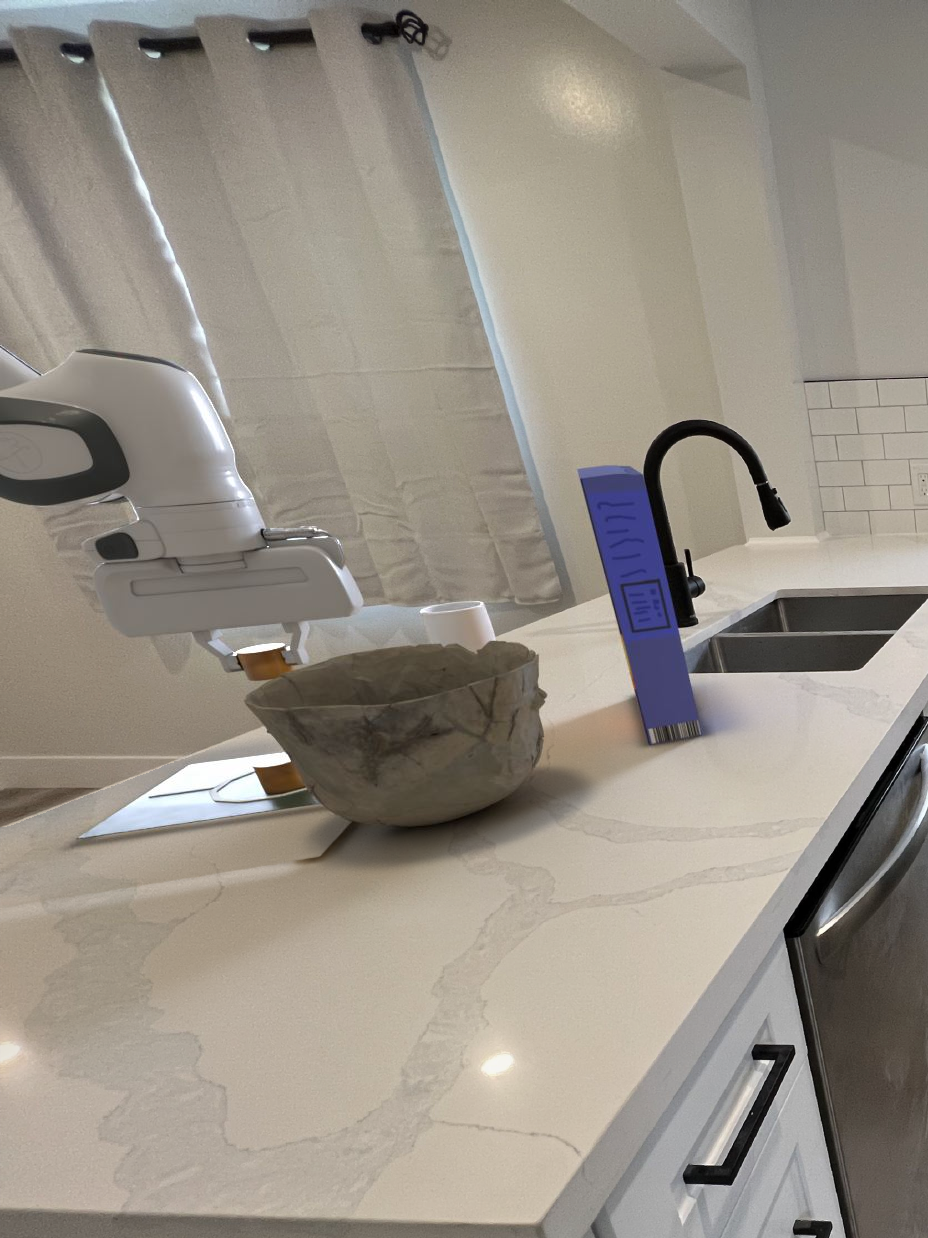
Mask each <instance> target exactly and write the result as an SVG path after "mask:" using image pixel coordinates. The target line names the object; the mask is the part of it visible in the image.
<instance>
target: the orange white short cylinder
mask: <svg viewBox="0 0 928 1238" xmlns="http://www.w3.org/2000/svg"><path fill="white" fill-rule="evenodd" d="M252 766H253V769H254V771H255V773H256V775H257V777H258V779H259V781H260V783H261V785H262V788H263V790H264V792H265V793H270V794H274V793H283V792H288V791H293V790H296V789H299V788H302V787H305V785H304V784H303V782H302V779H301V777H300V775H299V774H298V772H297V771H296V769H295V767H294V766H293V764H292V763H291V761H290V758H289V757H288V755H287V754H280V755H275V756H271V757H267V758H264V759H261V760H259V761H257V762H255V763H254V764H253V765H252Z"/></svg>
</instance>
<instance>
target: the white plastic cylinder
mask: <svg viewBox="0 0 928 1238" xmlns="http://www.w3.org/2000/svg"><path fill="white" fill-rule="evenodd" d="M420 614H421V617H422V621H423V624H424V628H425V631H426V634H427V637H428V639H429V643H430V644H441V645H442V646H443V647H445V646H446V645H448V644H455V643H457V644H459V645H461V646H462V647H464V648H466V649H467V650H469V651H471V652H474V653H475V654H476V655H477V650H479V649H482V648H483V647H484V646H485V645H486V644H487V643H488V642H489V641H497V638H496V635H495V631H494V627H493V624H492V621H491V618H490V616H489V615H490V614H489V613H488V610H487V607H486V604H485V603H484V602H483V601H478V600H466V601H454V602H447V603H440V604H435V605H431V606H428V607H427V606H426V607H424V608H422V609H421V610H420Z"/></svg>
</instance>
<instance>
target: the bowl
mask: <svg viewBox="0 0 928 1238" xmlns="http://www.w3.org/2000/svg"><path fill="white" fill-rule="evenodd" d="M539 663H540V654H539V653H537V654H536V652H535V650H533V649H529V648H528V647H527V646H526V645H524V644H523V643H520V642H515V641H507V640H496V641H489V642H488V643H487V644H486V645H485V646H484V647H483V648H482V649H479V650H477V655H476V654H475V653H474V652H471V651H469V650H467V649H466V648H464V647H462V646H461V645H459V644H457V643H455V644H448V645H446V646H445V647H443V646H442V645H441V644H431V643H424V644H421V643H420V644H417V645H410V644H409V645H402V646H401V645H399V646H392V647H384V648H383V647H382V648H377V649H371V650H366V651H358V652H353V653H347V654H343V655H337V656H334V657H329V658H328V659H326V660H323V661H320V662H318V663H314V664H311V665H308V666H305V667H301V668H297V669H296V670H294V671H290V672H286V673H284V674H281V675H280V677H277V678H275V679H271V680H267V681H266V682H264V683H263V684H261V685H260V686H259V687H257V688H256V689H254V690H252V691H251V692H249V693H248V694H246V695H245V699H244V700H243V702H244V704H245V706H246V707H247V708H248V709H249V710H250V711H251V712H252V713H253V715H254V716H255V717H256V718H257V719H258V720H259V722H260V723H261V724H262V725H263V727H264V728H265V729H266V733H267V734H270V735H271V737H272V738H273V739H274V740H275V741H276V742H277V743H278V745H279V746H280V747H281V748H282V750H283V751H284V752H285V753H286V754H287V755H288V757H289V758H290V761H291V763H292V764H293V766H294V767H295V769H296V771H297V772H298V774H299V775H300V777H301V779H302V782H303V784H304V785H305V787H306V788H307V790H308V791H309V793H310V794H312V796H313V797H314V798H315V799H316V800H317V801H318V802H319V803H320V804H319V805H321V806H322V807H324V809H326V810H328V811H329V812H331V813H332V814H334V815H335V816H337V817H340V818H341V819H344V820H347V821H350V822H355V823H359V824H368V825H380V826H387V825H388V826H389V825H390V826H396V827H411V828H413V827H425V826H433V825H438V824H443V823H447V822H448V823H449V822H453V821H455V820H457V819H460V818H464V817H466V816H469V815H472V814H474V813H476V812H479V811H481V810H485V809H486V808H488V807H490V806H491V805H493V804H497V802H500V801H501V800H503V799H505V798H507V797H508V796H509V795H511V794H512V793H513V792H515V791H516V790H517V789H518V788H520V787H521V785H523V783H524V782H525V781H526V780H527V779H528V777H529V776H531V774H532V772H533V770H534V769H535V768H536V766H537V765H538V763H539V762H540V759H541V757H542V754H543V748H544V738H545V731H544V728H543V723H542V720H541V716H540V709H542V707H543V706H544V705H545V704H546V700H545V699H546V698H547V697H548V693H547V692H546V691H545V690H543V689H542V688H540V687H539V678H540V666H539V665H540V664H539Z"/></svg>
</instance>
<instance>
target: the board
mask: <svg viewBox="0 0 928 1238" xmlns="http://www.w3.org/2000/svg"><path fill="white" fill-rule="evenodd" d="M280 754H286V753H285V751H284V752H277V753H267V754H260V755H253V756H252V755H251V756H245V757H237V758H230V759H221V760H214V761H206V762H199V763H192V764H188V765H187V766H185V767H184V768H182V769H181V770H179V771H178V772H176V773H175V774H173V775H171V776H170V777H168V778H167V779H165V780H164V781H162V782H161V783H159V784H157V785H155V786H154V787H153V788H152V789H150V790H149V791H147V792H145V793H144V794H142V795H141V796H140V797H137V798H136V799H135V800H133V801H132V802H130V803H129V804H126V805H125V806H124V807H122V808H121V809H119V810H118V811H116V812H115V813H113V814H112V815H110V816H109V817H107V818H106V819H104V820H103V821H101V822H100V823H98V824H96V825H95V826H93V827H92V828H90V829H88V830H87V831H85V832H84V833H83V834H81V835H80V836H78V837H76V840H82V839H89V838H96V837H101V836H102V837H103V836H109V835H115V834H122V833H128V832H129V833H130V832H136V831H144V830H149V829H156V828H164V827H171V826H177V825H184V824H191V823H198V822H204V821H211V820H218V819H226V818H233V817H239V816H246V815H247V816H248V815H253V814H260V813H267V812H274V811H280V810H288V809H294V808H300V807H307V806H314V805H321V804H320V803H319V802H318V801H317V800H316V799H315V798H314V797H313V796H312V794H310V793H309V791H308V790H307V788H306V787H302V788H299V789H296V790H293V791H288V792H283V793H274V794H270V793H265V792H264V790H263V788H262V785H261V783H260V781H259V779H258V777H257V775H256V773H255V771H254V769H253V766H252V765H253V764H254V763H255V762H257V761H259V760H261V759H264V758H267V757H271V756H275V755H280Z"/></svg>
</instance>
